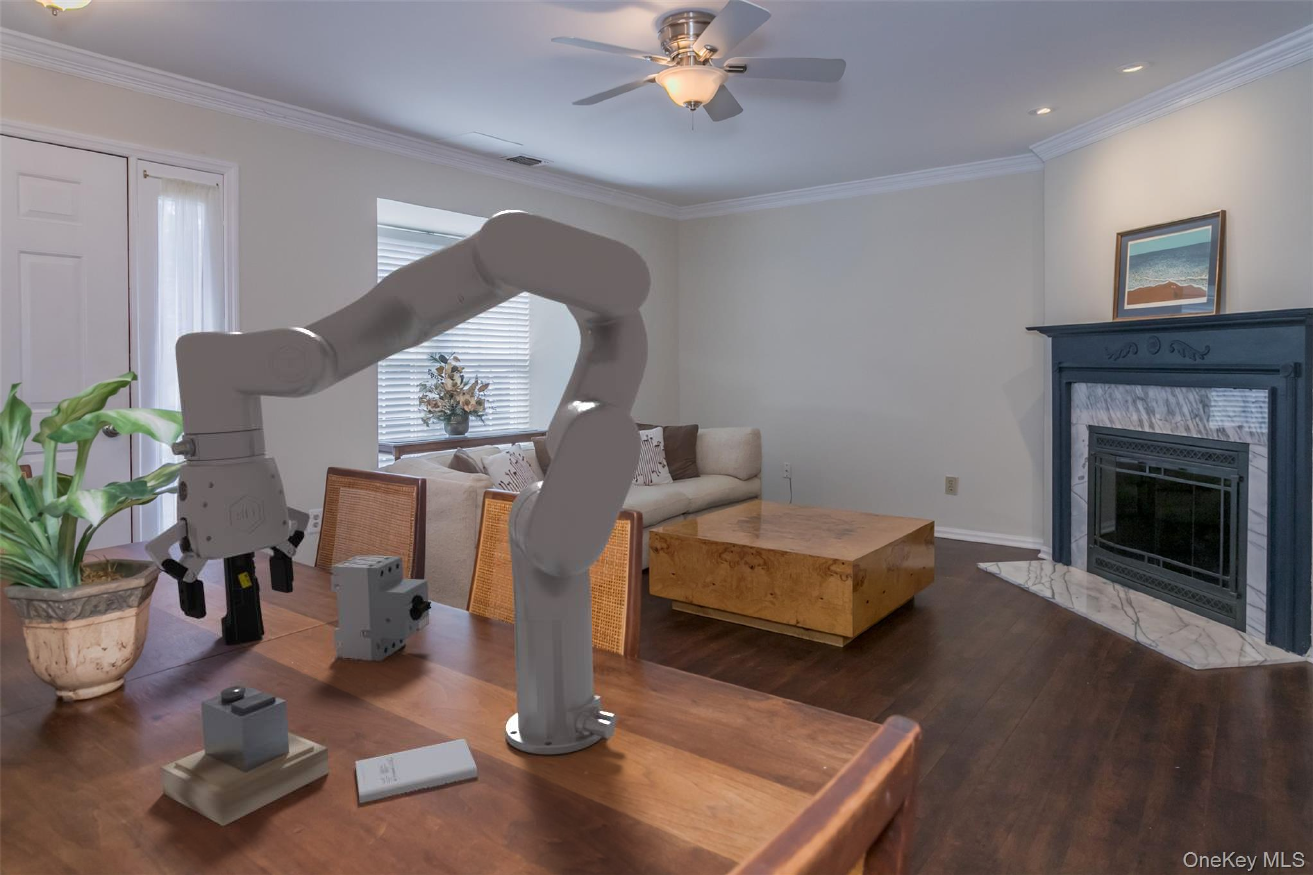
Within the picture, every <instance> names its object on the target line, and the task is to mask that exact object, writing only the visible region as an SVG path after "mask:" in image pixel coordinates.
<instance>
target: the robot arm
mask: <svg viewBox="0 0 1313 875" xmlns="http://www.w3.org/2000/svg"><path fill="white" fill-rule="evenodd" d="M651 281H652V280H651V273H650V269H649V267H648V265H647V262H646V261H645V260H644V258H643V257H642V256H641V254H640V253H639V252H637V251H636V250H635V249H634V248H633V247H631V246H630V245H628V244H626V243H623V242H621V241H618V240H616V239H613V238H610V237H606V236H604V235H600V234H598V233H595V232H591V231H588V230H585V229H581V228H579V227H576V226H572V225H569V224H566V223H563V222H561V221H557V220H555V219H551V218H548V217H545V216H542V215H538V214H535V213H531V212H527V211H523V210H512V209H511V210H505V211H504V210H503V211H499V212H498V213H496V214H494V215H493V216H491V217H490V218H488V219H487V220H486V221H485V222H484V223H483V225H482V226H481V228H480V229H479V230H476V231H474V232H472V233H471V234H469V235H466V236H464V237H462V238H460V239H457V240H456V241H454V242H452V243H450V244H448V245H447V246H444V247H442V248H440V249H438V250H435V251H433V252H431V253H429V254H427V255H425V256H423V257H420V258H418V259H416V260H414V261H412V262H410V263H407V264H405V265H403V266H401V267H398V268H397V269H395V270H394V271H392V272H390V273H389V274H388V275H386V276H385V277H383V278H382V279H380V280H379V282H377V284H375V286H374V287H373V288H371V290H369V291H368V292H367V293H365V294H364V295H363V296H361V297H359V298H358V299H356V300H354V301H353V302H351V303H350V304H348V305H346V306H345V307H343V308H340V309H339V310H337V311H335V312H333V313H330V314H329V315H327V316H325V317H323V318H321V319H318V320H315V321H314V322H312V323H310V324H307V325H306V326H303V327H295V326H287V327H278V328H272V329H266V330H260V331H252V332H250V331H249V332H239V331H198V332H196V331H195V332H190V333H189V332H188V333H185V334H183V335H182V334H181V336H180V337H178V339H177V340H176V343H175V347H174V349H175V350H174V351H175V361H176V362H175V363H176V374H177V382H178V392H179V393H178V394H179V401H180V409H181V410H180V411H181V421H182V430H183V431H182V432H183V434H182V435H181V439H182V440H180V441H178V442H177V441H176V442H173V443H172V444H171V452H172V454H173V455H174V456H183V459H184V460H185V461H186V464H181V465H180V469H179V474H178V475H179V476H178V482H177V490H176V491H177V492H176V494H177V495H176V523H175V524H173V525H172V526H170V527H169V528H167V529H166V530H165V531H163V532H162V533H160V534H159V535H158V536H156V537H155V538H154V539H152V540H151V541H149V542H148V543H146V545H145V546H144V551H145V552H146V554H147V555H148V556H149V558H151V560H152V561H153V562H154V563H155V564H156V568H158V569H159V570H160V571H162V572H164V573H165V574H167V575H168V576H170V577H171V578H172V579H173V580H176V581H177V589H178V600H179V607H180V608H179V609H180V611H182V612H183V613H184V616H186V617H190V618H192V619H197V620H200V619H204V618H205V617H206V616H207V606H206V597H205V584H204V582H203V580H201V579H198V576H199V575H200V573H201V571H203V569H204V568H205V566H206V564H207V563H208V561H209V560H210V561H214V560H215V561H216V560H217V561H218V560H221V559H223V558H227V557H232V556H236V555H241V554H245V553H249V552H253V551H254V552H257V551H258V552H259V551H262V550H265V549H268V550H269V551H270V552H272V553H273V554H272V555H270V556H269V559H268V562H269V564H268V565H269V574H270V575H269V576H270V583H271V584H270V586H271V590H272V591H275V592H280V593H283V594H289V593H293V591H294V585H293V583H294V579H295V578H294V565H293V558H294V557H295V556H296V554H297V549H298V547H299V546H300V544H301V543H302V542H303V540H304V538H305V531H307V528H308V524H309V522H310V519H311V516H310V514H309V513H307V512H305V511H302V510H299V509H295V508H292V507H291V506H290V507H289V506H288V504H287V500H286V499H287V498H286V493H285V490H284V485H283V481H282V477H281V474H280V471H279V468H278V465H277V462H276V459H275V457H274V456H273V455H267V453H266V441H265V430H264V422H263V421H264V420H263V410H262V400H261V398H262V397H261V396H263V397H278V398H293V399H298V398H305V397H308V396H312V395H316V394H318V393H321V392H323V391H325V390H326V389H328V388H330V387H332V386H335V385H336V384H338V383H340V382H342V381H344V380H346V379H348V378H351V377H352V376H354V375H356V374H358V373H360V372H361V371H364V370H366V369H368V368H370V367H372V366H374V365H375V364H378V363H380V362H382V361H384V360H385V359H388V358H389V357H392V356H394V355H396V354H398V353H401V352H404V351H406V350H409V349H412V348H415V347H418V346H420V345H422V344H425V343H427V342H428V341H430V340H432V339H434V338H436V337H438V336H440V335H442V334H444V333H446V332H448V331H450V330H452V329H454V328H456V327H458V326H460V325H462V324H464V323H465V322H468V321H469V320H471V319H473V318H476V317H477V316H479V315H482V314H483V313H486V312H487V311H489V310H491V309H493V308H495V307H497V306H500V305H501V304H503V303H505V302H508V301H509V300H512V299H514V298H515V297H517V296H519V295H521V294H522V293H524V292H525V293H529V294H532V295H534V296H538V297H540V298H542V299H543V298H544V299H547V300H550V301H554V302H556V303H559V304H561V305H563V304H564V305H565V306H566V308H567V309H568V311H569V312H570V314H571V316H572V317H573V318H574V320H575V322H576V325H577V326H578V330H579V335H580V344H579V351H578V354H577V357H576V361H575V363H574V366H573V368H572V373H571V375H570V377H569V380H568V382H567V384H566V387H565V389H564V392H563V394H562V397H561V399H560V401H559V403H558V406H557V409H556V410H555V412H554V415H553V417H552V419H551V421H550V423H549V425H548V428H547V432H546V437H545V438H546V439H545V445H546V450H547V453H548V455H549V457H550V459H551V461H550V463H549V466H548V469H547V471H546V474H545V475H544V478H543V480H540V481H536V482H534V483H531V484H529V485H528V486H526V487H525V488H523V489H522V490H521V491H520V492H519V494H518V495H517V496H516V497H515V498H514V500H513V502H512V504H511V507H510V510H509V514H508V521H507V528H508V530H507V531H508V544H509V553H510V562H511V563H510V564H511V574H512V575H511V576H512V588H513V590H512V593H513V621H514V622H513V623H514V650H515V651H514V652H515V653H514V654H515V676H516V677H515V678H516V680H515V682H516V684H515V685H516V703H517V704H516V709H517V712H516V713H515V714H514V715H512V716H511V717H510V718H509V719H508V721H507V722H506V725H505V728H504V729H505V730H504V731H505V732H504V733H505V734H504V736H505V738H506V741H507V742H508V743H509V744H510V745H511V746H512V747H514V748H515V749H517V750H519V751H522V752H525V753H528V754H529V753H530V754H536V755H550V756H551V755H561V754H567V753H573V752H577V751H580V750H583V749H585V748H586V749H587V748H588V747H590V746H592V745H593V744H595V743H597V742H598V741H599V740H601V739H602V738H604V739H611V738H612V737H613V735H614V732H615V725H616V724H617V722H618V714H616V713H613V712H610V711H604V710H603V709H602V700H601V696H599V695H595V693H594V692H595V691H594V664H593V663H594V661H593V657H594V656H593V629H592V628H593V625H592V624H593V622H592V587H591V586H592V585H591V572H590V567H592V566H593V565H594V564H595V563H596V561H597V560H598V559H599V558H600V556H601V555H602V554H603V552H604V551H605V548H606V546H607V544H608V543H609V540H610V538H611V535H612V533H613V531H614V528H615V527H616V523H617V521H618V519H619V517H620V515H621V512H622V508H623V506H624V503H625V501H626V499H627V496H628V494H629V491H630V490H631V487H632V484H633V481H634V478H635V476H636V474H637V471H638V468H639V464H640V460H641V454H642V452H641V451H642V439H641V434H640V430H639V428H638V425H637V423H636V421H635V420H634V419H633V417H632V416H631V412H632V410H633V407H634V404H635V402H636V399H637V395H638V392H639V390H640V386H641V385H642V381H643V377H644V375H645V371H646V368H647V362H648V355H649V341H648V340H649V339H648V334H647V331H646V326H645V323H644V320H643V316H642V314H641V313H642V312H641V311H640V308H641V307H643V305H644V303H645V302H646V300H647V299H648V296H649V293H650V290H651V285H652V284H651ZM290 523H291V525H290ZM176 543H178V546H179V550H180V553H181V554H182V555H181V557H180V558H179V560H178V561H177V560H176V559H174V558H173V557H172V555H171V553H170V548H171V547H172V546H173V545H174V544H176Z"/></svg>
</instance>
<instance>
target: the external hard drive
mask: <svg viewBox="0 0 1313 875" xmlns="http://www.w3.org/2000/svg"><path fill="white" fill-rule="evenodd" d="M354 763H355V774H356V783H357V792H358V799H359V804H361V803H366V802H367V803H368V802H371V801H375V800H380V799H384V797H385V798H388V796H390V797H392V796H391V795H394V794H398V795H402V794H401V793H403V794H405V793H404V792H407V793H411V792H410V791H412V792H414V791H413V790H416V791H419V790H418V789H421V788H425V789H428V788H427V787H429V788H433V786H434V787H438V786H441V785H442V786H443V785H446V784H445V783H447V784H451V782H452V783H455V782H454V781H456V782H460V781H464V780H469V779H472V778H478V777H479V776H478V775H479V774H478V768H477V765H476V762H475V760H474V757H473V754H472V752H471V751H470V748H469V746H468V742H467V740H466V739H465V738H462V739H457V740H451V741H446V742H442V743H437V744H433V745H428V746H422V747H418V748H414V749H409V750H402V751H400V752H399V751H398V752H394V753H390V754H386V755H380V756H376V757H375V756H374V757H370V758H366V759H360V760H356V761H355V762H354ZM477 776H478V777H477ZM459 780H460V781H459ZM437 785H438V786H437ZM421 790H422V789H421ZM394 796H395V795H394Z"/></svg>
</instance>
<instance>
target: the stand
mask: <svg viewBox="0 0 1313 875" xmlns="http://www.w3.org/2000/svg"><path fill="white" fill-rule="evenodd" d="M288 741H289V753H288V754H285V755H283V756H281V757H279V758H277V759H274V760H272V761H270V762H268V763H266V764H263V765H261V766H259V767H257V768H255V769H252V770H250V771H248V772H246V773H244V772H242V771H240V770H238V769H236V768H234V767H232V766H229V765H227V764H225V763H223V762H221V761H219V760H217V759H214V758H212V757H210V756H208V755H206V754H205V749H204V748H203V749H202V750H199V751H197V752H193V753H192V754H190V755H187V756H185V757H182V758H180V759H178V760H175V761H173V762H170V763H167V764H165V765H163V766H160V772H161V784H162V794H163V795H165V796H167V797H168V798H170V799H172V800H173V801H176V802H178V803H180V804H182V805H184V806H185V807H187V808H189V809H190V810H193V811H195V812H196V813H198V814H200V815H201V816H204V817H205V818H207V819H209V820H211V821H212V822H214V823H216V824H219V826H221V827H225V826H226V825H229V824H230V823H232V822H234V821H237V820H238V819H241V818H242V817H244V816H246V815H249V814H250V813H253V812H255V811H256V810H258V809H260V808H263V807H264V806H266V805H268V804H270V803H272V802H274V801H276V800H278V799H280V798H282V797H285V796H286V795H288V794H291V793H292V792H294V791H296V790H298V789H300V788H302V787H304V786H306V785H308V784H311V783H312V782H314V781H316V780H318V779H320V778H322V777H324V776H326V775H328V774H330V770H329V769H330V766H329V752H328V751H329V749H328V747H327V746H325V745H321V744H319V743H316V742H314V741H311V740H309V739H306V738H304V737H301V736H299V735H296V734H294V733H291V732H289V731H288Z"/></svg>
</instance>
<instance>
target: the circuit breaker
mask: <svg viewBox="0 0 1313 875" xmlns="http://www.w3.org/2000/svg"><path fill="white" fill-rule="evenodd" d="M331 569H332V575H330V585H331V586H330V587H331V593H336V601H337V602H336V603H337V619H338V621H337V622H338V627H337V628H335V629H334V630H333V638H334V640H333V641H334V649H335V650H336V653H335V654H336V655H334V656H335V657H334V659H339V658H341V657H343V658H355V659H354V660H357V659H362V660H361V661H372V660H376V661H375V662H377V661H378V662H382V661H384V660H385V659H386V658H387V657H390V656H391V655H393V654H394V653H395V652H396V651H398V650H400V649H402V647H404V646H405V645H407V639H408V638H410V637H411V636H413V635H414V634H415V633H417V632H419V631H420V630H422V629H423V628H424V627H427V626H428V625H429V624H430V611H429V610H431V609H432V606H431V604H432V601H429V586H428V585H429V584H428V579H419V578H418V579H417V578H404V575H403V557H402V556H394V555H389V556H388V555H360V554H358V555H355V556H353V557H352V558H349V559H347V560H345V561H341V562H339V563H336V564H334V565H332V566H331ZM336 585H338V587H336ZM339 642H340V645H339ZM338 657H339V658H338ZM343 658H342V659H343Z"/></svg>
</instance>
